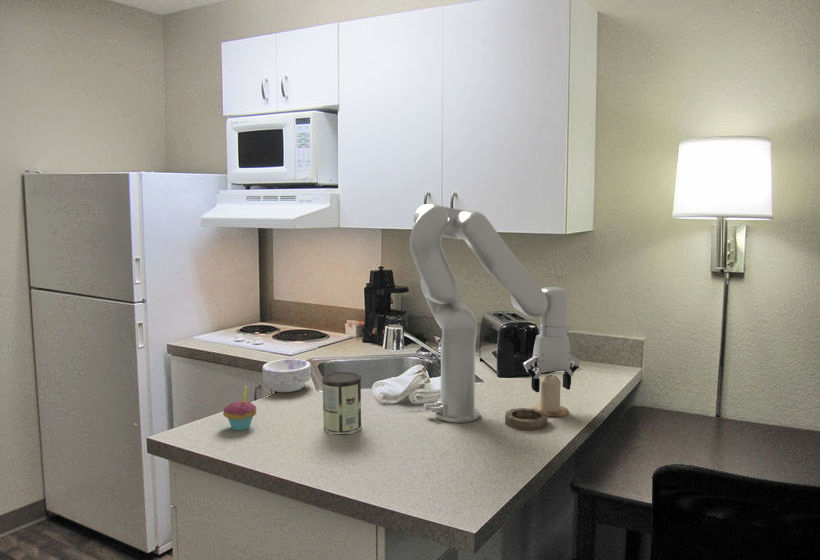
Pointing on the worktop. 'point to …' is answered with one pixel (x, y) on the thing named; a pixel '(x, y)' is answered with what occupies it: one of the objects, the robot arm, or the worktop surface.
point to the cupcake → (240, 413)
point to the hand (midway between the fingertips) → (551, 389)
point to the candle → (550, 394)
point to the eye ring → (530, 425)
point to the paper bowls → (286, 374)
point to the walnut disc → (560, 413)
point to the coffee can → (342, 403)
